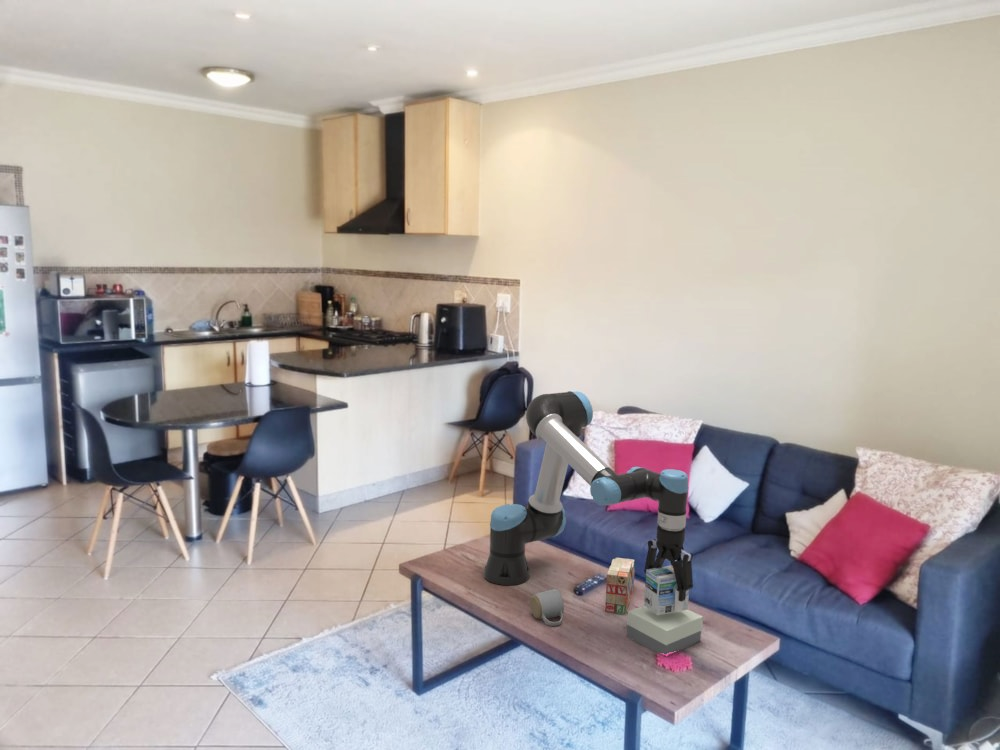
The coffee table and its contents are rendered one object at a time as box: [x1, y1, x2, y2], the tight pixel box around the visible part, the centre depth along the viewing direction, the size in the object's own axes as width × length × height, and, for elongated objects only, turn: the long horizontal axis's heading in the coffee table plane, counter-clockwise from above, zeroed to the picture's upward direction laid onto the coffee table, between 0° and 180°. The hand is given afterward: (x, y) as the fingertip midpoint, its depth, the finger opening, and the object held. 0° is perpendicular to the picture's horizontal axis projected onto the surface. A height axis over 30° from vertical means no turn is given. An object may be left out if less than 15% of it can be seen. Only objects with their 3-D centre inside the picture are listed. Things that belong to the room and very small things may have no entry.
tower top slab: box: [627, 605, 704, 645], centre depth 209 cm, size 14×15×4 cm
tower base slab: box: [625, 624, 702, 654], centre depth 210 cm, size 14×15×4 cm
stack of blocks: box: [604, 557, 635, 615], centre depth 234 cm, size 21×6×12 cm, turn 164°
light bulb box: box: [643, 564, 690, 615], centre depth 207 cm, size 11×7×11 cm, turn 114°
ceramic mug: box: [529, 588, 565, 627], centre depth 220 cm, size 11×8×8 cm
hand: (666, 605), depth 208 cm, fingers closed on light bulb box, 8 cm apart
